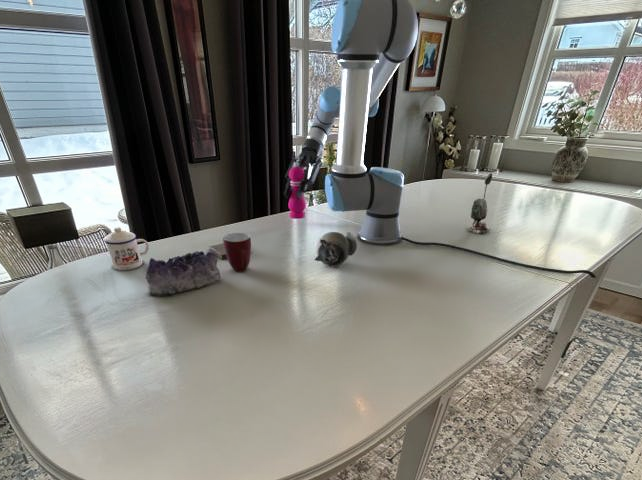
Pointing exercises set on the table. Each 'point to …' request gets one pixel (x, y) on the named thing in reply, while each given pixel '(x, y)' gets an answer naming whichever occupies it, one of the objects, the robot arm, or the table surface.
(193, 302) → the table surface
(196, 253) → the geode
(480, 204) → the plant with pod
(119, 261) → the teacup with lid
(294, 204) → the pepper mill
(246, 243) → the mug
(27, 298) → the table surface
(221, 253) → the grey angular chunk
